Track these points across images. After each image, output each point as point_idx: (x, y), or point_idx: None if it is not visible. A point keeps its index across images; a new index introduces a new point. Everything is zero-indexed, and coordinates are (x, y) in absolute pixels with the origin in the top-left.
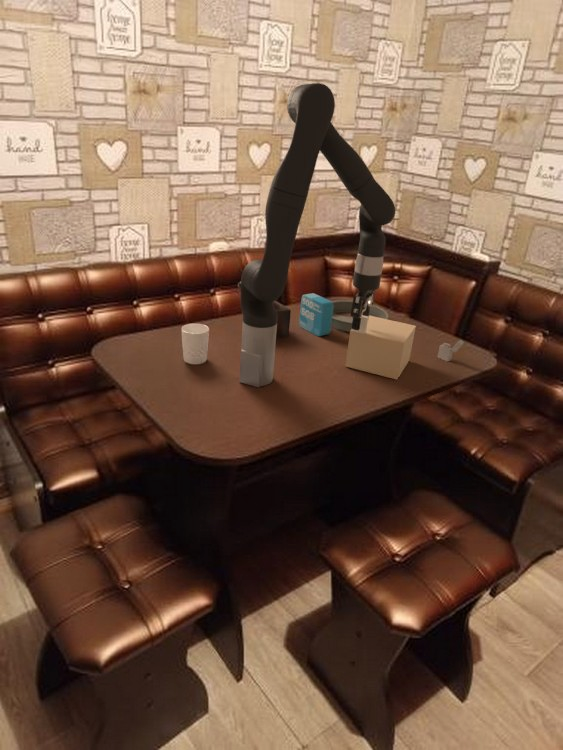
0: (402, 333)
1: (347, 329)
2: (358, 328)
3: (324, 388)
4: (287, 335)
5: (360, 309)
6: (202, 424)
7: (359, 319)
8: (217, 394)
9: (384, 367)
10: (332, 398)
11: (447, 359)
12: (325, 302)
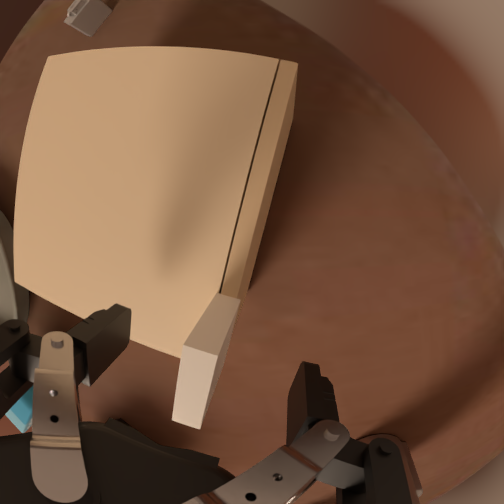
0: (146, 81)
1: (25, 288)
2: (318, 371)
3: (402, 336)
4: (122, 420)
5: (400, 495)
6: (490, 445)
7: (323, 417)
8: (423, 469)
9: (280, 161)
10: (448, 310)
11: (108, 10)
12: (20, 400)
